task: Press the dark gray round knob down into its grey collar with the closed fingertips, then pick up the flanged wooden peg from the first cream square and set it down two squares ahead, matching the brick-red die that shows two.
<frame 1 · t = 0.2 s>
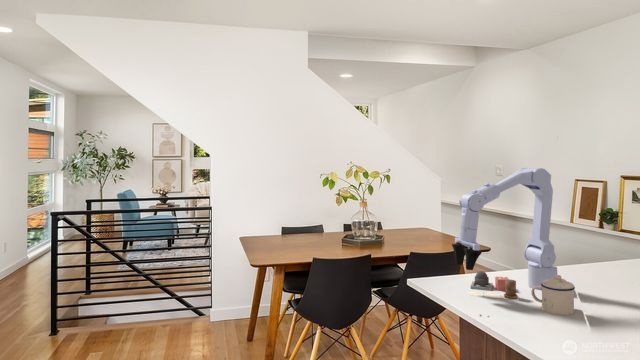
hand: (464, 267, 149), 10 cm above the kitchen island, tool pointing down, fingers open, 7 cm apart
dark gray round knob: (481, 277, 157), point 4 cm above the kitchen island, slide at 0.0 cm
die: (502, 289, 154), resting on board
flanged wooden peg: (510, 297, 145), point 1 cm above the kitchen island, touching board
board: (492, 294, 151), on the kitchen island
teacup with lid: (552, 312, 134), on the kitchen island
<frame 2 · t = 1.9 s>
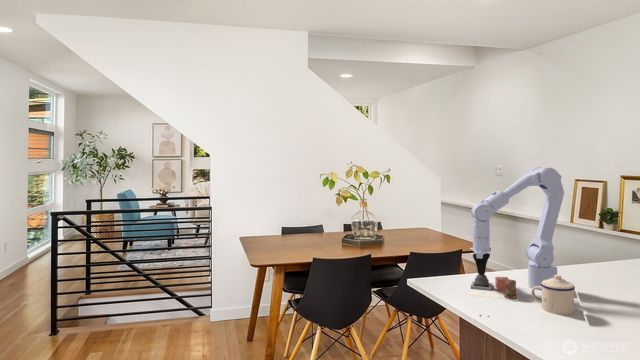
hand: (481, 273, 157), 6 cm above the kitchen island, tool pointing down, fingers closed, pressing on dark gray round knob
dark gray round knob: (481, 280, 157), point 3 cm above the kitchen island, slide at 0.9 cm, touching gripper
everything else where it was.
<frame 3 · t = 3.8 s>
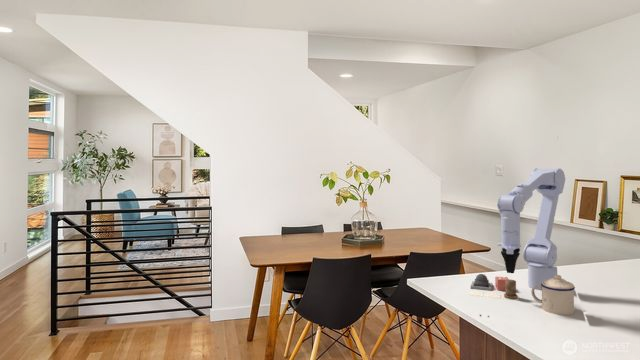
hand: (510, 271, 145), 10 cm above the kitchen island, tool pointing down, fingers open, 4 cm apart
dark gray round knob: (481, 280, 157), point 3 cm above the kitchen island, slide at 1.0 cm
everything else where it was.
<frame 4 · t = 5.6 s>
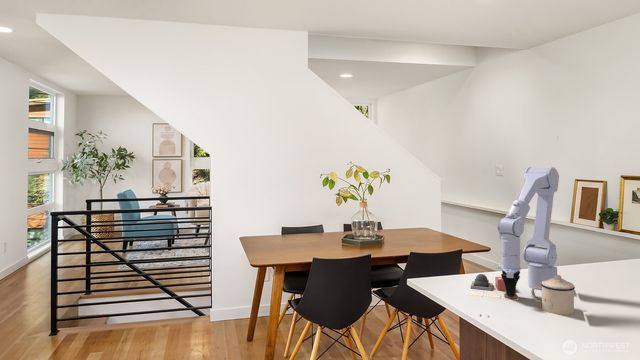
hand: (510, 293, 145), 2 cm above the kitchen island, tool pointing down, fingers closed on flanged wooden peg, 3 cm apart
flanged wooden peg: (510, 297, 145), point 1 cm above the kitchen island, touching board, gripper
everything else where it was.
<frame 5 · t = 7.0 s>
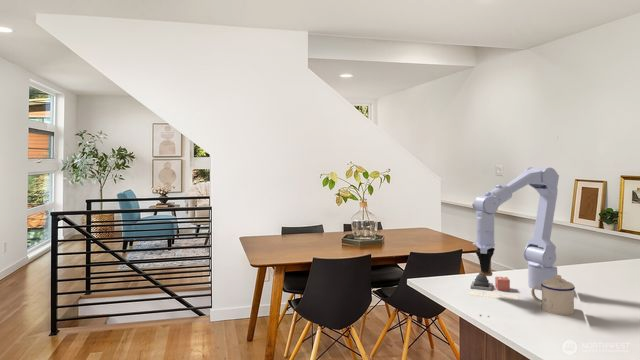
hand: (485, 270, 148), 10 cm above the kitchen island, tool pointing down, fingers closed on flanged wooden peg, 3 cm apart
flanged wooden peg: (485, 274, 148), point 8 cm above the kitchen island, touching gripper
everything else where it was.
when the fingers open (3 cm above the kitchen island, at t = 8.7 s): flanged wooden peg stays where it is, resting on board.
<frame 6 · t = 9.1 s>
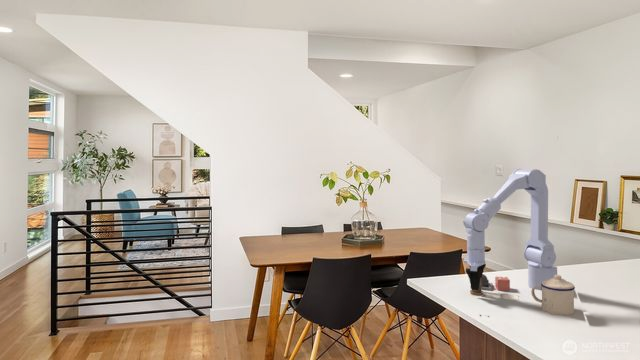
hand: (476, 286, 150), 3 cm above the kitchen island, tool pointing down, fingers open, 7 cm apart
flanged wooden peg: (476, 293, 150), point 1 cm above the kitchen island, touching board
everything else where it was.
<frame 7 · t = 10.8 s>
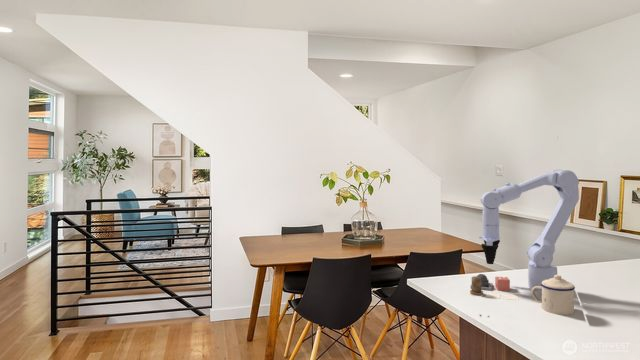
hand: (490, 261, 158), 10 cm above the kitchen island, tool pointing down, fingers open, 7 cm apart
nothing on the kitchen island moved.
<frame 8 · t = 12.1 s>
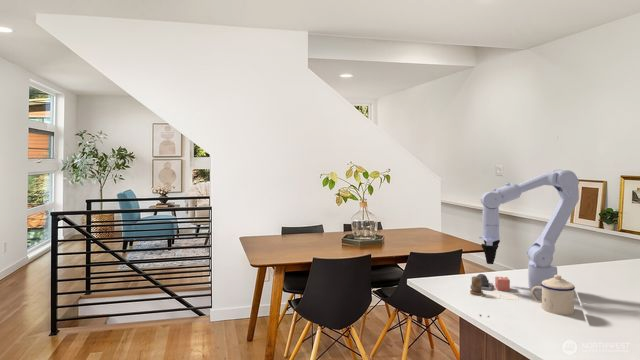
hand: (490, 261, 158), 10 cm above the kitchen island, tool pointing down, fingers open, 7 cm apart
nothing on the kitchen island moved.
at the end: dark gray round knob slide at 1.0 cm; flanged wooden peg 0.1 cm from the target spot, point 1.0 cm above the kitchen island; flanged wooden peg tilted 0° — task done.
